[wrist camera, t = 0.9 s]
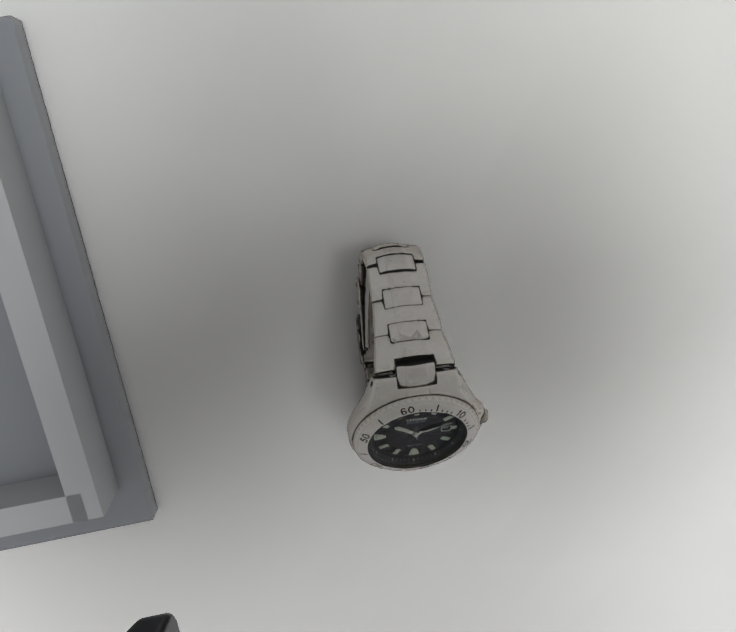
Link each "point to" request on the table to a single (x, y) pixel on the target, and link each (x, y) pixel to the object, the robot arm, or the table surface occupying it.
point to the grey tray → (53, 343)
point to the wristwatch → (406, 369)
